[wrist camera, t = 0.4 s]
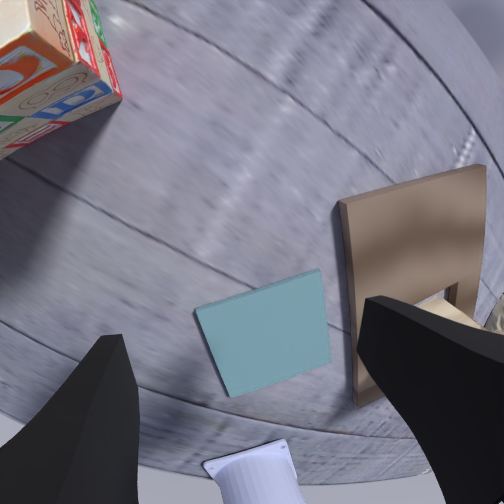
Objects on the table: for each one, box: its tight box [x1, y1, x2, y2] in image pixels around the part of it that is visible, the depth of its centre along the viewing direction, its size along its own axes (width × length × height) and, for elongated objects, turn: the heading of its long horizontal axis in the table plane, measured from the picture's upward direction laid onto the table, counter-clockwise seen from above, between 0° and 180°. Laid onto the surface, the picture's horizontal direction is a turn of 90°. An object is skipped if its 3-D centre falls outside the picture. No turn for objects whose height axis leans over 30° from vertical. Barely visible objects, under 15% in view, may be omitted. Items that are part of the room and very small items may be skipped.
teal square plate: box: [195, 269, 331, 398], centre depth 21 cm, size 8×8×1 cm
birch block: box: [418, 296, 481, 329], centre depth 23 cm, size 4×4×6 cm
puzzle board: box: [338, 164, 486, 409], centre depth 23 cm, size 19×14×1 cm
